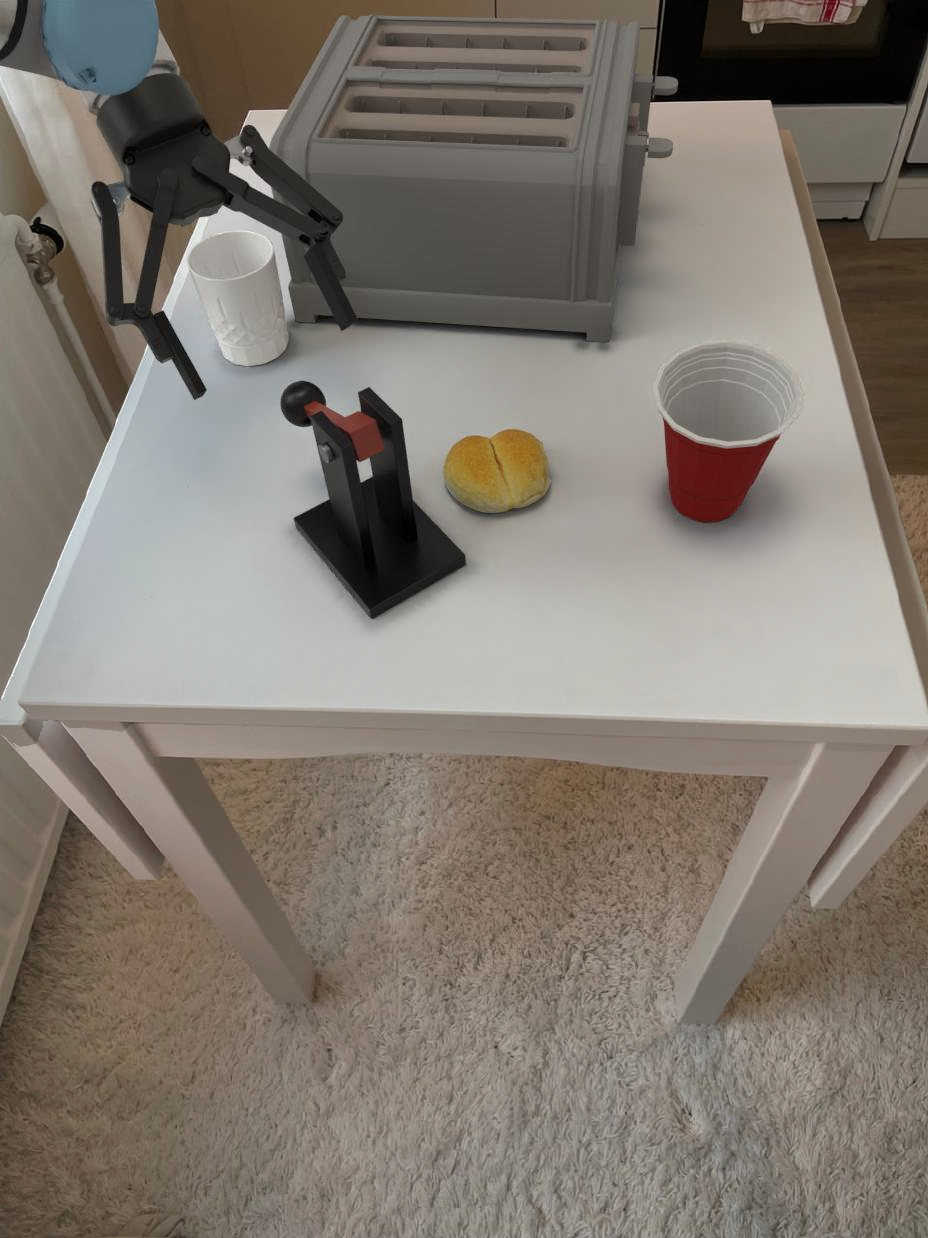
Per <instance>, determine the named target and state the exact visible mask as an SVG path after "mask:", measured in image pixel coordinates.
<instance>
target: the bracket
mask: <svg viewBox="0 0 928 1238" xmlns="http://www.w3.org/2000/svg"><path fill="white" fill-rule="evenodd" d="M357 395H358V396H357V397H358V402H359V407H360V412H362V413H363V414H365V415H367V416H369V417H371V418H373V419H375V420H376V423H377V426H378V429H379V432H380V435H381V438H382V441H383V444H384V447H385V450H383V451H381V452H379V453H377V454H375V455H373V456H371V457H370V458H369V463H370V469H371V476H370V477H369V478H367V479H365V480H362V481H361V477H360V473H359V467H358V461H357V460H356V456H355V450H354V445H353V443H352V442H351V441H350V440H349V439H348V438H347V437H346V436H345V435H344V434H343V433H342V432H341V430H340V429H339V428H338V427H337V426H336V425H335V424H334V423H333V422H332V421H331V420H330V419H329V418H328V417H327V416H326V415H325V414H324V413H323V412H322V411H319V412H317V413H315V414H313V415H311V416H310V419H311V423H312V426H311V427H312V432H313V436H314V439H315V443H316V448H317V452H318V457H319V461H320V465H321V469H322V475H323V477H324V482H325V487H326V490H327V495H328V499H327V500H325V501H323V502H321V503H319V504H317V505H315V506H313V507H311V508H310V509H308V510H306V511H304V512H302V513H300V514H298V515H296V516H294V517H293V522H294V526H295V528H296V529H297V531H298V532H299V533H300V534H301V535H302V537H303V538H304V539H305V540H306V542H307V543H308V544H309V545H310V546H311V548H312V549H313V550H314V552H316V554H317V555H318V556H319V557H320V559H322V561H323V562H324V563H325V564H326V566H327V567H328V569H330V571H331V572H332V573H333V574H334V575H335V577H336V578H337V579H338V580H339V582H341V584H342V585H343V587H345V589H346V590H347V591H348V592H349V594H350V595H351V596H352V598H354V600H355V601H356V602H357V603H358V604H359V605H360V607H361V608H362V609H363V611H364V612H365V613H366V614H367V615H368V617H369V618H370V619H372V620H373V619H375V618H376V617H378V616H379V615H381V614H383V613H384V612H387V611H388V610H390V609H391V608H393V607H395V606H397V605H398V604H400V603H402V602H403V601H406V600H407V599H409V598H410V597H412V596H414V595H416V594H417V593H419V592H421V591H423V590H424V589H426V588H427V587H429V586H431V585H433V584H434V583H437V582H438V581H440V580H442V579H443V578H445V577H447V576H448V575H450V574H452V573H453V572H455V571H457V570H459V569H460V568H462V567H464V566H466V565H467V561H466V559H467V558H466V554H465V552H463V551H462V550H461V549H460V547H459V546H458V545H457V544H456V543H455V542H454V541H453V540H452V539H451V538H450V537H449V536H448V535H447V534H446V533H445V532H444V531H443V530H442V529H441V527H440V526H439V525H437V523H436V522H435V521H433V519H432V518H431V517H430V516H429V515H428V514H427V513H426V512H425V511H424V510H423V508H421V507H420V506H419V505H418V504H417V503H416V501H415V500H414V499H413V491H412V483H411V477H410V476H411V475H410V468H409V462H408V453H407V446H406V445H407V444H406V438H405V429H404V424H403V423H404V422H403V418H402V417H401V416H400V415H399V414H398V413H397V412H396V411H395V410H393V409H392V408H391V406H390V405H389V404H387V403H386V401H384V400H383V399H382V398H381V396H380V395H379V394H377V393H376V392H375V391H374V390H373V389H372V388H371V387H370V386H368V387H366V388H364V389H362V390H359V391H357Z"/></svg>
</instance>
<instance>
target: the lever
mask: <svg viewBox="0 0 928 1238" xmlns="http://www.w3.org/2000/svg"><path fill="white" fill-rule="evenodd" d="M279 403H280V404H279V406H280V410H281V413H282V415H283V417H284V418H285V419H286V420H287V422H289V424H291V425H294V426H295V427H299V428H309V427H312V423H311V419H310V416H311V415H313V414H315V413H317V412H319V411H322V412H323V413H324V414H325V415H326V416H327V417H328V418H329V419H330V420H331V421H332V422H333V423H334V424H335V425H336V426H337V427H338V428H339V429H340V430H341V432H342V433H343V434H344V435H345V436H346V437H347V438H348V439H349V440H350V441H351V442H352V443H353V445H354V450H355V456H356V461H357V462H358V463H362V462H364V461H366V460H367V459H370V457H371V456H373V455H375V454H377V453H379V452H381V451H383V450H385V447H384V444H383V441H382V438H381V435H380V432H379V429H378V426H377V423H376V420H375V419H373V418H371V417H369V416H367V415H365V414H363V413H362V412H361V410H357V411H355V412H353V413H351V414H348V415H346V416H344V415H342V414H340V413H338V412H337V411H335V410H333V409H332V408H329V407H327V400H326V397H325V394H324V392H323V391H322V389H320V387H319V386H317V385H316V384H315V383H313V382H310V381H307V380H297V381H294V382H292V383H290V384H289V385H288V386H286V387H285V389H284V390H283V392H282V394H281V397H280V402H279Z"/></svg>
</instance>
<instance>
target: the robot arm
mask: <svg viewBox="0 0 928 1238" xmlns="http://www.w3.org/2000/svg"><path fill="white" fill-rule="evenodd" d="M157 8H158V7H157V5H156V1H155V0H0V67H3V68H4V67H5V68H9V69H13V70H17V71H21V72H26V73H31V74H34V75H39V76H43V77H46V78H50V79H52V80H56V81H59V82H61V83H64V85H65V86H67V87H69V88H71V89H74V90H77V91H78V93H79V94H80V96H81V98H82V101H83V102H84V104H85V106H86V108H87V110H88V112H89V113H90V114H92V115H93V116H95V117H96V120H95V124H96V126H97V128H98V130H99V132H100V134H101V135H102V138H103V139H104V141H105V143H106V145H107V146H108V148H109V150H110V152H111V154H112V156H113V158H114V160H115V162H116V164H117V165H118V167H119V169H120V171H121V172H122V177H123V180H122V181H117V182H113V183H109V184H106V183H105V182H103V181H100V180H96V181H94V182H93V183H92V185H91V188H90V204H91V205H92V209H93V211H94V213H95V216H96V218H97V221H98V223H99V225H100V232H101V233H100V237H101V254H102V256H101V257H102V270H103V272H102V273H103V274H102V275H103V290H104V291H103V292H104V306H105V319H106V322H107V324H108V325H110V326H111V327H119V326H121V325H123V326H124V325H131V326H134V327H136V328H137V329H138V330H139V331H140V333H141V334H142V337H143V338H144V340H145V343H146V344H147V345H148V347H149V349H150V351H151V352H152V354H153V356H154V359H155V360H157V362H159V363H160V364H161V365H162V364H164V363H167V362H170V361H171V362H172V363H173V364H174V367H175V368H176V371H177V372H178V374H179V376H180V378H181V379H182V381H183V383H184V384H185V387H186V388H187V390H188V392H189V394H190V396H191V398H192V399H193V401H196V400H198V399H200V398H202V397H204V395H205V394H206V392H207V391H208V389H207V387H206V385H205V383H204V382H203V379H202V378H201V376H200V374H199V373H198V371H197V369H196V367H195V364H193V361H192V359H191V358H190V356H189V354H188V352H187V350H186V349H185V347H184V345H183V342H181V340H180V338H179V336H178V334H177V332H176V331H175V329H174V327H173V325H172V323H171V321H170V319H169V318H168V316H167V314H166V312H165V311H164V309H162V310H160V311H158V312H154V313H153V311H152V307H153V302H154V298H155V292H156V287H157V283H158V277H159V272H160V268H161V263H162V258H163V253H164V249H165V243H166V237H167V233H168V228H169V225H170V224H171V225H174V226H180V227H181V228H184V227H187V226H189V225H191V224H192V223H194V222H195V221H196V220H197V219H199V218H207V217H211V216H214V215H216V214H218V212H219V210H220V209H222V207H224V208H227V209H229V210H231V211H233V212H235V213H236V212H237V213H242V214H243V215H246V217H249V218H251V219H253V220H254V221H257V222H258V223H260V224H263V225H265V226H267V227H268V228H270V229H271V230H274V231H275V232H277V233H280V234H281V233H282V234H283V235H285V236H287V237H289V238H291V239H293V240H295V241H297V242H299V243H301V244H303V245H304V246H306V247H308V248H309V250H308V251H307V253H306V254H305V256H304V259H305V261H306V263H307V264H308V266H309V268H310V270H311V272H312V274H313V276H314V278H315V280H316V282H317V284H318V286H319V288H320V290H321V292H322V294H323V296H324V298H325V300H326V302H327V304H328V306H329V308H330V310H331V312H332V314H333V316H332V317H333V318H334V320H335V322H336V324H337V325H338V327H339V330H340V331H341V332H343V331H345V330H347V329H349V328H351V327H352V325H353V324H355V323H356V322H357V321H358V319H359V318H357V316H356V314H355V313H354V311H353V309H352V307H351V305H350V303H349V301H348V299H347V297H346V295H345V293H344V291H343V289H342V287H341V285H340V283H342V282H343V281H344V279H345V278H346V273H345V270H344V268H343V266H342V264H341V262H340V260H339V258H338V256H337V254H336V252H335V250H334V248H333V246H332V243H331V240H330V237H331V235H332V234H333V233H334V232H335V231H336V229H337V228H338V227H339V225H340V224H341V223H342V221H343V214H342V212H341V211H340V210H339V209H337V208H336V207H335V206H334V205H333V204H332V203H331V202H329V201H328V200H327V199H326V198H325V197H324V196H322V195H321V194H320V193H319V192H318V191H317V190H316V189H314V188H313V187H312V186H311V185H310V184H309V183H307V182H306V181H305V180H304V179H303V178H302V177H301V176H299V175H298V174H297V173H296V172H295V171H294V170H292V169H291V168H290V167H289V166H288V165H287V164H286V163H284V162H283V161H282V160H281V159H280V158H279V157H277V156H276V155H275V154H274V153H273V152H272V151H271V150H269V146H268V145H267V144H266V142H265V140H264V139H263V137H262V136H261V134H260V132H259V131H258V129H257V128H256V127H255V126H254V125H253V124H246V125H244V126H243V127H242V130H241V132H240V134H237V135H236V136H234V137H232V138H230V139H228V140H227V141H225V142H223V141H222V140H221V139H219V138H218V137H217V136H216V134H215V133H214V132H213V130H212V128H211V126H210V124H209V122H208V119H207V117H206V115H205V114H204V112H203V110H202V108H201V106H200V104H199V102H198V100H197V97H196V96H195V95H194V92H193V90H192V89H191V86H190V84H189V83H188V81H187V79H185V77H183V76H181V75H180V74H181V71H180V70H181V68H180V66H179V63H178V62H177V60H176V58H175V56H174V54H173V53H172V51H171V49H170V47H169V44H168V43H167V41H166V39H165V37H164V34H163V32H162V31H161V28H160V21H159V13H158V9H157ZM231 160H236V161H237V162H239V164H241V165H242V166H244V167H250V169H251V170H252V171H253V172H254V173H255V174H256V175H257V176H258V177H259V178H260V179H261V180H263V181H264V183H266V184H267V185H268V186H269V187H270V188H271V187H272V188H273V189H274V190H275V191H277V192H278V193H279V194H280V195H281V196H282V197H284V198H285V199H286V200H287V201H288V202H290V203H291V204H292V205H293V206H294V207H295V208H297V209H298V210H299V211H300V212H301V213H302V214H304V215H305V216H304V215H302V214H301V213H299V212H297V211H295V210H293V209H291V208H289V207H288V206H286V205H284V204H282V203H280V202H278V201H276V200H275V199H274V198H273V197H271V196H269V195H268V194H265V193H264V192H262V191H260V190H258V189H256V188H254V187H252V186H251V185H250V183H249V182H247V181H246V180H245V179H243V178H241V177H239V176H237V175H236V174H235V173H232V172H230V168H231ZM127 200H130V201H131V202H133V203H135V204H136V205H138V206H139V207H142V208H143V209H145V210H146V211H148V212H150V213H152V216H151V221H150V226H149V231H148V235H147V241H146V245H145V251H144V256H143V261H142V266H141V271H140V275H139V280H138V281H139V282H138V286H137V290H136V295H135V300H134V302H125V299H124V298H125V297H124V280H123V264H122V263H123V262H122V246H121V245H122V244H121V229H120V228H121V227H120V217H121V216H123V214H124V212H125V202H126V201H127Z"/></svg>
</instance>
